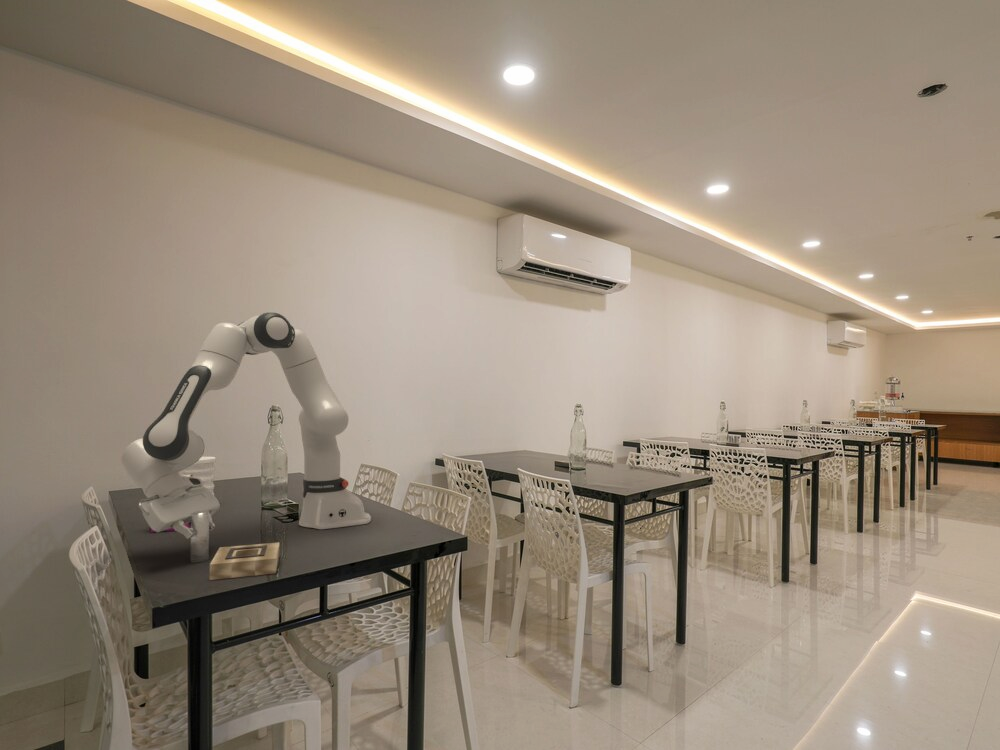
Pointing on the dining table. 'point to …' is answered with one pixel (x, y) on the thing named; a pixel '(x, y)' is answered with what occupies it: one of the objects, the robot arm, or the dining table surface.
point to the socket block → (245, 561)
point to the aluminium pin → (200, 536)
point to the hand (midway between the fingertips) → (202, 532)
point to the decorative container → (203, 471)
